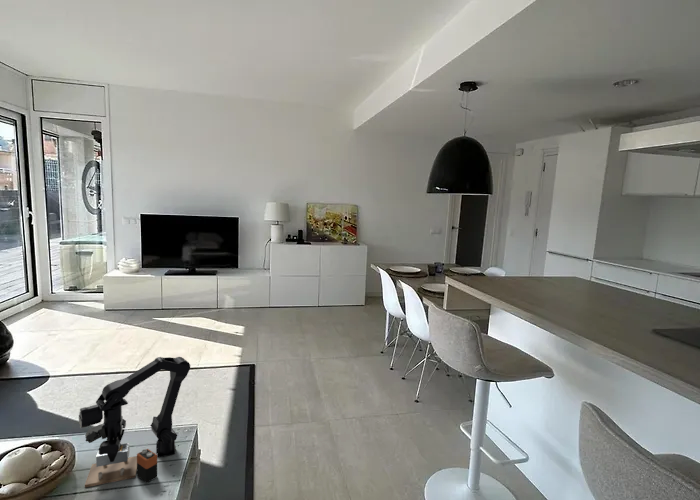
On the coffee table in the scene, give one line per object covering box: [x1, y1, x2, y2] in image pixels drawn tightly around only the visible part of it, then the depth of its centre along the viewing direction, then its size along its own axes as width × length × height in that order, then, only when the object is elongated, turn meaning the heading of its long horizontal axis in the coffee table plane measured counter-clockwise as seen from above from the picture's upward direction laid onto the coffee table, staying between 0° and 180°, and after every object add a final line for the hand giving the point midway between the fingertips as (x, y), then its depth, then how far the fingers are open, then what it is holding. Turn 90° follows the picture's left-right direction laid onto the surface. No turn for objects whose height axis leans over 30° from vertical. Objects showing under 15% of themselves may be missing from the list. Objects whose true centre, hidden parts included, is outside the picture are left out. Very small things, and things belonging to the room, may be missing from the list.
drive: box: [95, 442, 130, 467], centre depth 145 cm, size 10×6×4 cm, turn 113°
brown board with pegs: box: [84, 455, 137, 488], centre depth 146 cm, size 16×12×3 cm
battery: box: [136, 448, 158, 484], centre depth 144 cm, size 4×7×10 cm, turn 57°
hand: (113, 456), depth 145 cm, fingers closed on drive, 5 cm apart
